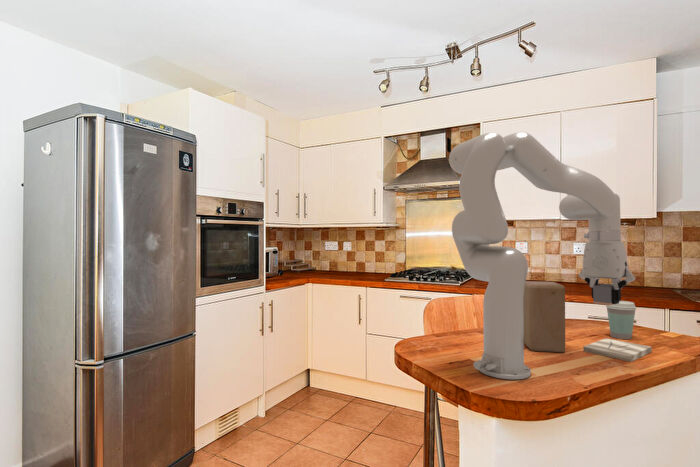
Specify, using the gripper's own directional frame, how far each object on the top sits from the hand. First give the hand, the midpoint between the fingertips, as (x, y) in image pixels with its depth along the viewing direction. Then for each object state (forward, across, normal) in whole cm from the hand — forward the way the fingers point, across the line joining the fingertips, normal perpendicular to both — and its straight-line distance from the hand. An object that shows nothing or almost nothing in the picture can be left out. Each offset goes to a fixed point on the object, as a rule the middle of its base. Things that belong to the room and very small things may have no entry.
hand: (606, 301), depth 108 cm
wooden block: (+16, -16, -5) cm, 23 cm away
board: (+16, -1, +10) cm, 19 cm away
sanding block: (0, 0, 0) cm, 0 cm away
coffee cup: (+17, -7, +29) cm, 34 cm away
